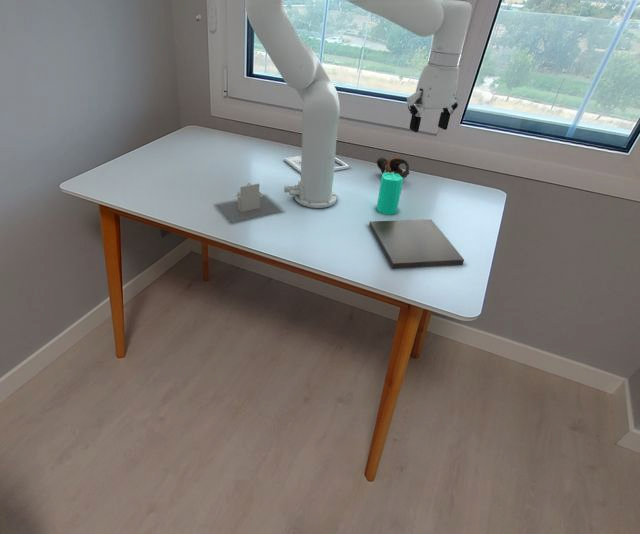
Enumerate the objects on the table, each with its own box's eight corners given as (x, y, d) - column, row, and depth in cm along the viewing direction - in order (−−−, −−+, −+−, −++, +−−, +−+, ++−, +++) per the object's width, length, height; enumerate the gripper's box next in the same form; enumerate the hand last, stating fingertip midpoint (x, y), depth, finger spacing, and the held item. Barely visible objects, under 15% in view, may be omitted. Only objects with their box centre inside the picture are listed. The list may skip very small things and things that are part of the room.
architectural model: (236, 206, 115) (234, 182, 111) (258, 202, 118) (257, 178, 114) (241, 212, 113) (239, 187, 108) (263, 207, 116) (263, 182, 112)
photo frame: (284, 157, 145) (327, 151, 153) (284, 160, 146) (327, 154, 154) (304, 172, 135) (349, 165, 143) (304, 175, 136) (348, 168, 144)
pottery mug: (409, 176, 143) (416, 161, 135) (397, 195, 139) (403, 181, 131) (379, 161, 144) (384, 145, 137) (367, 179, 141) (371, 164, 133)
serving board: (392, 268, 95) (393, 263, 94) (369, 226, 111) (369, 221, 110) (462, 264, 99) (464, 259, 98) (430, 223, 114) (431, 219, 114)
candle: (396, 216, 117) (404, 176, 110) (375, 212, 118) (382, 173, 111) (397, 206, 122) (404, 168, 115) (377, 203, 123) (383, 165, 116)
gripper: (460, 57, 107) (444, 123, 117) (406, 57, 100) (394, 127, 110) (480, 62, 101) (461, 131, 111) (425, 62, 95) (410, 136, 104)
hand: (428, 129), depth 110 cm, fingers open, 9 cm apart
